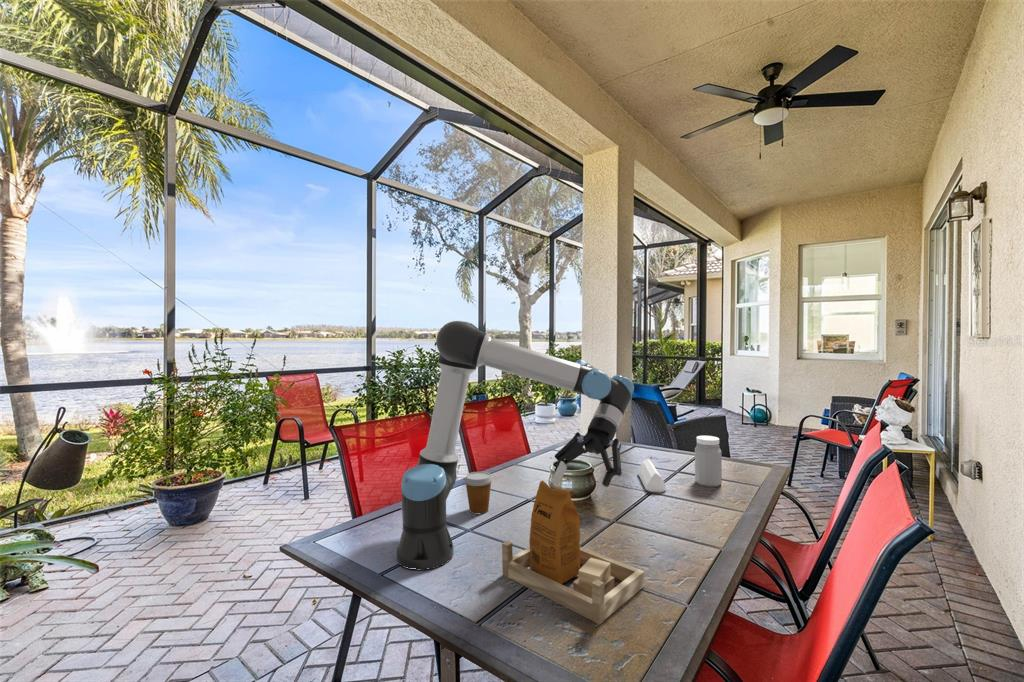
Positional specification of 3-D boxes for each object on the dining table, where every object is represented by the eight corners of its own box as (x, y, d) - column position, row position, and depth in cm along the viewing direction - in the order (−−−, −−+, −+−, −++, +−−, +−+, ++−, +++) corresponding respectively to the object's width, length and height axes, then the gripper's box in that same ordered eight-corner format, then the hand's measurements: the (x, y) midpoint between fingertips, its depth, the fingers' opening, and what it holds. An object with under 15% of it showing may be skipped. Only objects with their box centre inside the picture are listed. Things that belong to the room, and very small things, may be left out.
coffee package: (553, 556, 121) (552, 475, 121) (586, 576, 111) (584, 487, 111) (523, 568, 115) (522, 482, 115) (555, 590, 105) (553, 496, 105)
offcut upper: (599, 590, 101) (599, 576, 101) (578, 583, 103) (578, 570, 103) (610, 575, 107) (610, 562, 106) (590, 569, 109) (590, 557, 109)
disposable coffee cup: (480, 518, 147) (479, 481, 147) (459, 512, 153) (458, 476, 153) (498, 509, 155) (498, 474, 155) (477, 503, 161) (477, 469, 160)
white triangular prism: (632, 464, 192) (641, 482, 168) (647, 456, 191) (658, 473, 167) (641, 479, 192) (652, 500, 168) (656, 471, 191) (669, 491, 167)
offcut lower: (595, 605, 100) (595, 591, 100) (573, 594, 104) (573, 581, 104) (614, 590, 106) (614, 577, 106) (592, 580, 110) (592, 568, 110)
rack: (599, 624, 93) (599, 586, 92) (502, 575, 112) (502, 543, 112) (645, 586, 106) (644, 552, 106) (551, 548, 126) (551, 519, 126)
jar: (689, 481, 179) (688, 436, 179) (707, 478, 184) (706, 434, 183) (709, 489, 171) (708, 441, 170) (727, 485, 175) (727, 438, 174)
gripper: (650, 437, 122) (622, 509, 111) (574, 425, 139) (544, 487, 129) (640, 421, 118) (610, 493, 108) (563, 411, 135) (531, 473, 125)
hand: (574, 490), depth 118 cm, fingers open, 13 cm apart
